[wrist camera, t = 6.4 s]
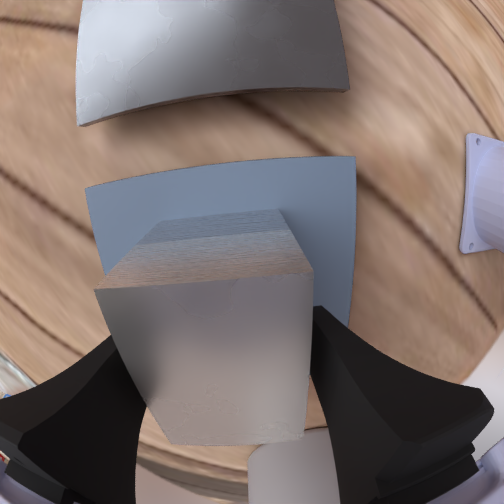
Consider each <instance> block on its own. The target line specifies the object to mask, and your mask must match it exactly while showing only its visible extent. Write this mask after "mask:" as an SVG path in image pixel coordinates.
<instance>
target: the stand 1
mask: <svg viewBox="0 0 504 504" xmlns="http://www.w3.org/2000/svg"><path fill="white" fill-rule="evenodd" d="M348 90H350V86H349V78H348V71H347V65H346V58H345V52H344V46H343V41H342V36H341V31H340V26H339V21H338V17H337V12H336V8H335V4H334V0H83V5H82V11H81V18H80V26H79V34H78V45H77V61H76V114H77V126H82V127H86V126H89V125H92V124H95V123H98V122H101V121H105V120H108V119H111V118H115V117H118V116H121V115H125V114H129V113H133V112H136V111H140V110H144V109H149V108H153V107H157V106H162V105H167V104H172V103H177V102H183V101H188V100H194V99H201V98H208V97H215V96H223V95H233V94H243V93H257V92H276V91H323V92H345V91H348Z"/></svg>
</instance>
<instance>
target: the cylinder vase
mask: <svg viewBox="0 0 504 504" xmlns="http://www.w3.org/2000/svg"><path fill="white" fill-rule="evenodd" d="M248 491H249V504H340V497H339V488H338V481H337V474H336V467H335V461H334V456H333V450H332V445H331V440H330V435H329V430H328V427H327V428H316V429H310V430H304V437H303V439H301V440H294V441H286V442H278V443H268V444H263V445H261V446H260V447H258V448H257V449H256V450H255V451H254V452H253V453H252V454H251V455H250V457H249V459H248Z"/></svg>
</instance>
